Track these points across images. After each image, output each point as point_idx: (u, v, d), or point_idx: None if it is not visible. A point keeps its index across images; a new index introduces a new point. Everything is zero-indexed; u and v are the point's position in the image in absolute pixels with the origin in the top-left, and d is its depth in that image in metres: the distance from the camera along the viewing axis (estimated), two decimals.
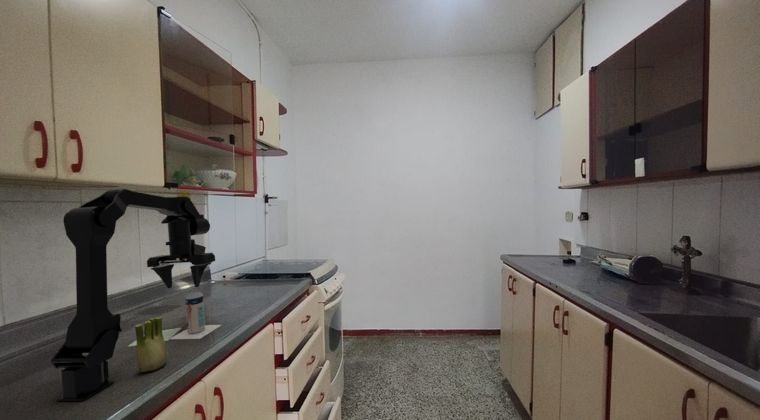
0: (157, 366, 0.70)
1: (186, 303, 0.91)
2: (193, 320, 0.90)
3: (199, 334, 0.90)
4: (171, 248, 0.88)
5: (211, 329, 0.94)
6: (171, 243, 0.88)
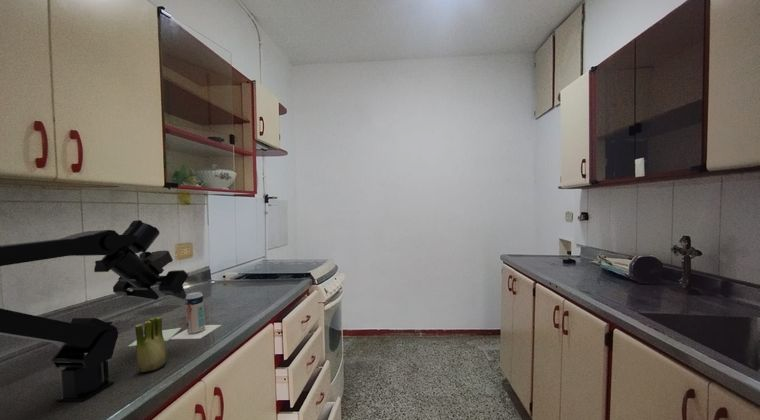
0: (157, 366, 0.70)
1: (186, 303, 0.91)
2: (193, 320, 0.90)
3: (199, 334, 0.90)
4: (130, 283, 0.74)
5: (211, 329, 0.94)
6: (125, 280, 0.73)
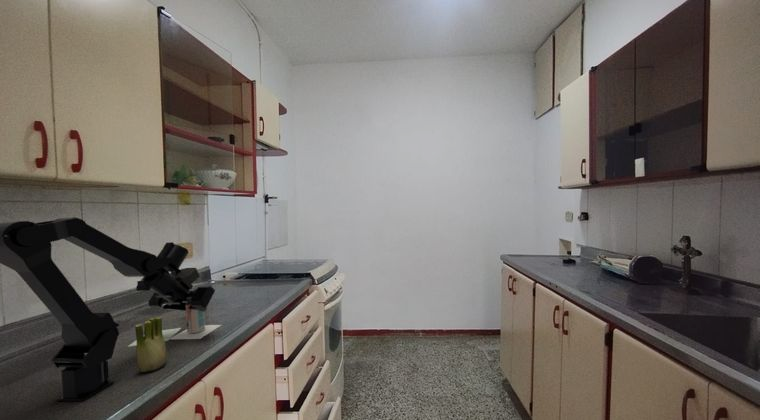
0: (157, 366, 0.70)
1: (186, 303, 0.91)
2: (193, 320, 0.90)
3: (199, 334, 0.90)
4: (165, 298, 0.83)
5: (211, 329, 0.94)
6: (161, 296, 0.82)
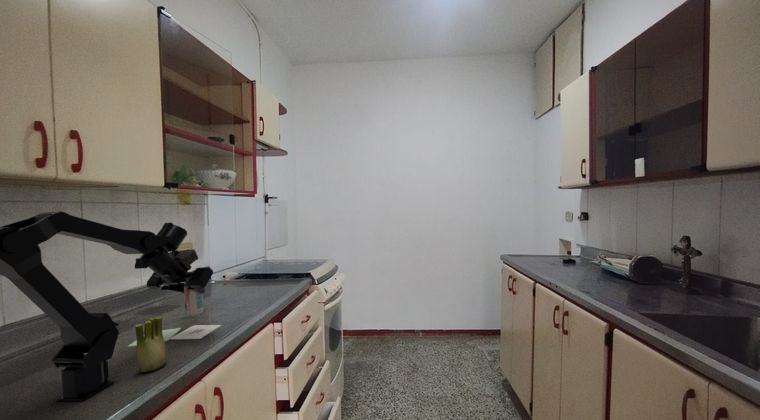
0: (157, 366, 0.70)
1: (184, 285, 0.91)
2: (191, 302, 0.90)
3: (199, 334, 0.90)
4: (163, 278, 0.83)
5: (211, 329, 0.94)
6: (160, 276, 0.82)
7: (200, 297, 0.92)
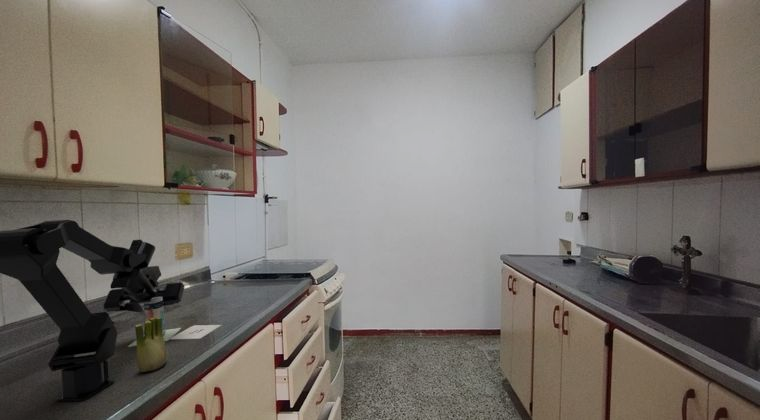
0: (157, 366, 0.70)
1: (146, 308, 0.88)
2: None
3: (199, 334, 0.90)
4: (133, 297, 0.81)
5: (211, 329, 0.94)
6: (131, 294, 0.80)
7: (163, 319, 0.91)
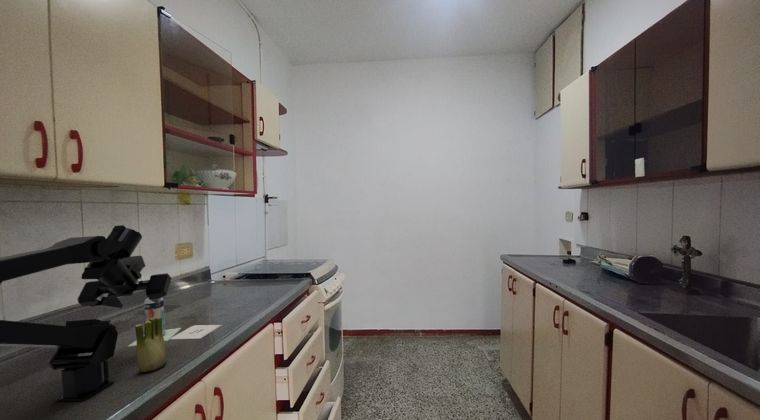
0: (157, 366, 0.70)
1: (147, 308, 0.88)
2: None
3: (199, 334, 0.90)
4: (111, 290, 0.72)
5: (211, 329, 0.94)
6: (109, 287, 0.71)
7: (163, 319, 0.91)
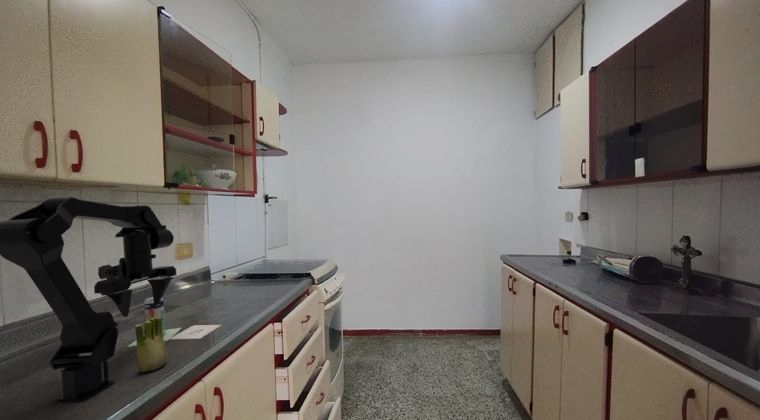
0: (157, 366, 0.70)
1: (147, 308, 0.88)
2: None
3: (199, 334, 0.90)
4: (145, 263, 0.78)
5: (211, 329, 0.94)
6: (146, 258, 0.78)
7: (163, 319, 0.91)
